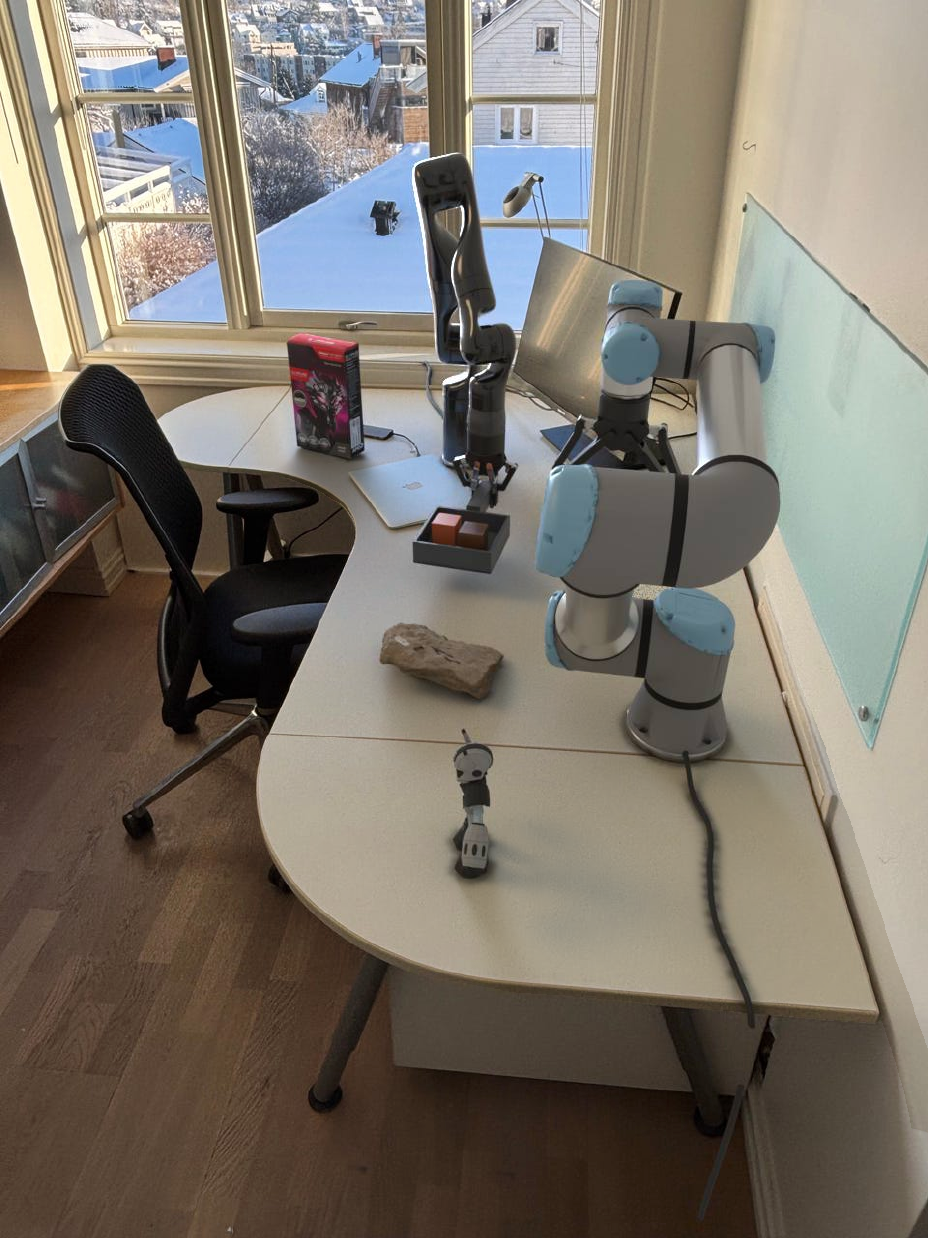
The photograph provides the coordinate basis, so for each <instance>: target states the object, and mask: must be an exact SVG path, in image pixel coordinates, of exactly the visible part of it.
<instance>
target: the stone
mask: <svg viewBox="0 0 928 1238" xmlns="http://www.w3.org/2000/svg"><path fill="white" fill-rule="evenodd" d="M381 642H382V646H381V648H380V654H379V662H380V663H379V664H381V665H393V666H395V667H397V668H398V669H399V670H400V672H402V673H404V674H409V675H413V676H414V677H417V678H422V679H427V680H428V681H431V682H433V683H436V684H438V685H441V686H443V687H446V688H448V689H450V690H452V691H455V692H465V693H467V694H469V695H471V696H472V697H474V698H476V699H484V698H486V697H487V695H488V694H489V691H490V689H491V687H492V680H493V678H494V676H495V673H496V672H497V669H498V668H499V666H500V663H501V662H502V661H503V659H504V658H505V655H504V654H503V653H502V652H500V651H498V650H497V649H495V648H494V647H490V646H486V645H480V644H474V643H468V642H465V641H462V640H460V641H458V640H453V639H452V640H451V639H448V638H447V636H446V635H443V634H437V632H435V630H432V629H430V628H429V626H427V625H423V624H418V623H403V622H399V623H397V624H394V625H393V626H391V627H389V628H388V629H386V630H385V631H384V633H383V635H382V638H381Z"/></svg>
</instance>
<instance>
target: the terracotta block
mask: <svg viewBox="0 0 928 1238" xmlns="http://www.w3.org/2000/svg"><path fill="white" fill-rule="evenodd" d="M461 528H462V516H460V515H453V514H446V513H439V514H438V515H437V517H436V518H435V520H434V521H433V523H432V540H433V543H436V544H443V545H450V546H457V547H459V532H460V530H461Z"/></svg>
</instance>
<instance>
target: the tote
mask: <svg viewBox="0 0 928 1238" xmlns="http://www.w3.org/2000/svg"><path fill="white" fill-rule="evenodd" d="M490 493H491V488H490V483H489V479H488V480H487V479H480V482H479V485H478V487H477V489H476V490H475V492H474V494H473V495H472V497H471V496H470V499H469V500H468V501H467V503H466V505H465V507H466V508H459V507H450V506H443V505H435V507H433V510H432V511H431V512H430V514H429V516H428V517H427V519H426V520H425V522H424V523H423V525H422V526H421V528H420V529H419V531H418V532H417V534H416V535H415V537H414V539H413V540H412V563H414V564H420V565H426V566H432V567H440V568H446V569H453V570H460V571H465V572H473V573H480V574H486V575H492V573H493V572H494V570H495V567H496V565H497V562H498V561H499V559H500V557H501V554H502V552H503V550H504V548H505V547H506V544H507V542H508V540H509V538H510V535H511V515H509V514H503V513H495V512H488V511H487V510H488V509H489V508H490ZM439 513H446V514H453V515H460V516H462V526H463V525H464V523H465V521H468V522H475V523H483V524H488V551H484V550H477V549H470V548H464V547H457V546H450V545H443V544H436V543H433V540H432V523H433V521H434V520H435V518H436V517H437V515H438V514H439Z"/></svg>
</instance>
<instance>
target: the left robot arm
mask: <svg viewBox="0 0 928 1238" xmlns="http://www.w3.org/2000/svg"><path fill="white" fill-rule="evenodd" d="M470 165H471V164H470V162H469V160H468V159H467V157H466V155H464V154H463V153H461V152H454V153H449V154H446V155H441V156H437V157H431V158H428V159H424V160H421V161H418V162H417V163H415V164H414V167H413V168H412V186H413V191H414V198H415V202H416V207H417V212H418V217H419V222H420V227H421V233H422V239H423V247H424V256H425V265H426V274H427V282H428V287H429V293H430V299H431V305H432V312H433V313H432V314H433V328H434V329H433V330H434V344H435V345H434V346H435V353H436V357H437V360H438V361H439V363H440V364H443V365H448V366H459V367H467V369H465V370H464V371H463V372H460V373H458V374H454V375H451V376H449V377H447V378H445V379H444V380H443V382H442V409H441V408H440V407H439V405H438V404H437V403H436V401H435V400H434V398H433V396H432V394H431V391H430V378H431V374H432V368H431V365H430V364H429V362H428V361H427V360H423V361H424V362H425V363H424V362H423V361H422V365H423V366H424V365H425V366H426V367H427V374H426V379H425V390H426V394H427V397H428V400H429V401H430V402H431V404H432V406H433V407H434V408H435V410H436V411H437V412H438V413H439V414H440V416H441V417H442V463H443V464H444V465H445V466H448V467H450V468H454V469H455V472H456V475H457V476H458V478H459V480H460V483H461V485H462V487H464V488H466V487H467V488H468V489H470V491H471V492H470V498H471V497H472V495H473V494H474V492H475V490H476V489H477V487H478V485H479V483H480V482H481V477H482V476H484V477H487V479H488V481H489V483H490V488H491V493H490V505H489V509H492V510H494V509H495V507H497V505H498V503H499V496H500V495H499V493H500V492H505V491H506V489H507V488H508V486H509V484H510V482H511V480H513V479H512V478H513V477H514V475H515V474H516V472H517V470H518V468H519V463H518V462H512V461H511V462H510V461H509V460H508V459H507V456H506V454H505V451H506V450H505V449H506V447H505V446H506V423H507V422H506V420H507V416H506V387H507V382H508V379H509V375H510V372H511V369H512V366H513V363H514V360H515V357H516V352H517V347H518V345H517V344H518V343H517V336H516V333H515V331H514V329H513V328H512V326H510V325H509V324H507V323H504V322H498V323H491V324H483V325H480V324H479V319H480V318H482V317H485V316H487V315H489V314H491V313H493V312H494V311H495V309H496V307H497V300H496V299H497V298H496V294H495V291H494V287H493V283H492V279H491V275H490V271H489V268H488V263H487V259H486V253H485V246H484V238H483V229H482V224H481V223H482V222H481V216H480V211H479V203H478V198H477V192H476V186H475V180H474V176H473V172H472V168H471V166H470ZM458 208H461V212H462V225H461V231H460V236H459V239H458V238H457V237H456V236H454V235H453V234H452V233H451V232H450V231H449V230H448V229H447V228H446V227H445V226H444V225H443V223H442V222H441V221H440V219H439V217H438V215H437V214H438V213H442V212H446V211H449V210H454V209H458ZM457 310H459V321H460V323H458V322H451V320H452V317H453V315H454V314H455V313H456V311H457ZM484 365H488V366H487V368H486V369H484V370H483V366H484ZM503 467H504V471H505V474H506V476H505V477H504V479H503V481H502V482H500V480H499V476H500V475H499V472H500V471H501V470H502V468H503ZM469 468H470V470H471V471H472V474H471V476H470V473H469V472H468V469H469Z"/></svg>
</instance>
